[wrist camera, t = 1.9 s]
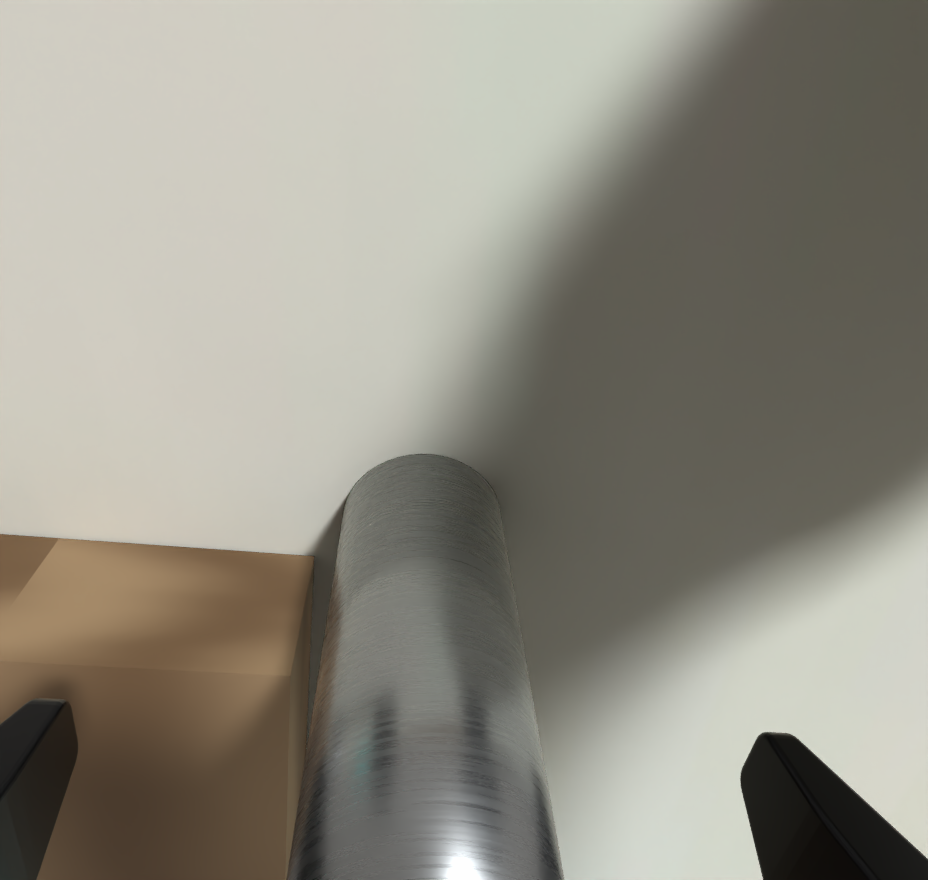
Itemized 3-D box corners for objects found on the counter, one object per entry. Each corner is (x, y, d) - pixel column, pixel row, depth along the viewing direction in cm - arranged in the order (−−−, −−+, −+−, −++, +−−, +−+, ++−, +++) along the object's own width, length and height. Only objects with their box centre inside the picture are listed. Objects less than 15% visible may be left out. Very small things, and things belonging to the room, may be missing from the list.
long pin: (512, 461, 13) (651, 1086, 5) (488, 587, 15) (570, 1227, 7) (347, 447, 13) (237, 1093, 5) (339, 577, 14) (244, 1237, 6)
